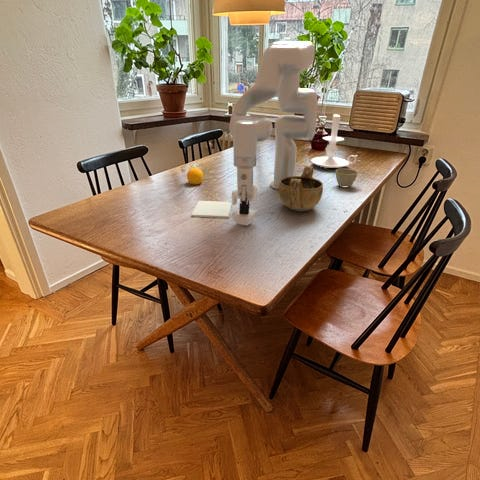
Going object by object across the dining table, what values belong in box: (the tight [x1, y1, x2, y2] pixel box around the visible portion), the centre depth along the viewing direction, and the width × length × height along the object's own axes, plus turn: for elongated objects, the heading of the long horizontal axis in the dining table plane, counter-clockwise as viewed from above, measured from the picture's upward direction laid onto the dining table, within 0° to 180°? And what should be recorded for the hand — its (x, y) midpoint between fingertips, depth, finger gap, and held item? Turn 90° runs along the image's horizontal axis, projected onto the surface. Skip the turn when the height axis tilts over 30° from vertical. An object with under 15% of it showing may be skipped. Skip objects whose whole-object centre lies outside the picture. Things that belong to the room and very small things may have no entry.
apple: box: [186, 167, 205, 185], centre depth 155 cm, size 8×8×8 cm
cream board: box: [191, 200, 233, 219], centre depth 128 cm, size 14×14×1 cm
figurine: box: [230, 184, 258, 226], centre depth 113 cm, size 7×9×15 cm
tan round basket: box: [278, 165, 324, 212], centre depth 127 cm, size 22×17×15 cm
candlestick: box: [310, 113, 358, 169], centre depth 175 cm, size 21×25×28 cm
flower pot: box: [335, 168, 359, 187], centre depth 153 cm, size 10×10×7 cm
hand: (244, 211), depth 115 cm, fingers closed on figurine, 3 cm apart
